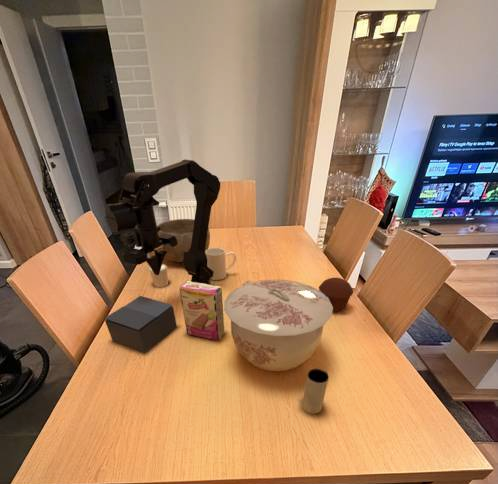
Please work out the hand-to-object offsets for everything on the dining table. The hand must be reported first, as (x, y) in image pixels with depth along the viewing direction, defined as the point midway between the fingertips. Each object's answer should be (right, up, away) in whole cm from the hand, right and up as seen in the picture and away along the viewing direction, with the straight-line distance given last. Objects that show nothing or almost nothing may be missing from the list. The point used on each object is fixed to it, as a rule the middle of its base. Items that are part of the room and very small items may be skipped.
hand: (157, 274), depth 97 cm
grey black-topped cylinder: (+45, -39, -26) cm, 65 cm away
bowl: (+1, +19, +43) cm, 47 cm away
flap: (-1, -11, -5) cm, 13 cm away
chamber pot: (+37, -26, -10) cm, 47 cm away
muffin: (+60, -9, +10) cm, 61 cm away
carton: (-3, -19, -3) cm, 20 cm away
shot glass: (-6, +3, +24) cm, 25 cm away
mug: (+18, +8, +29) cm, 35 cm away
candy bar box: (+16, -20, -3) cm, 26 cm away
